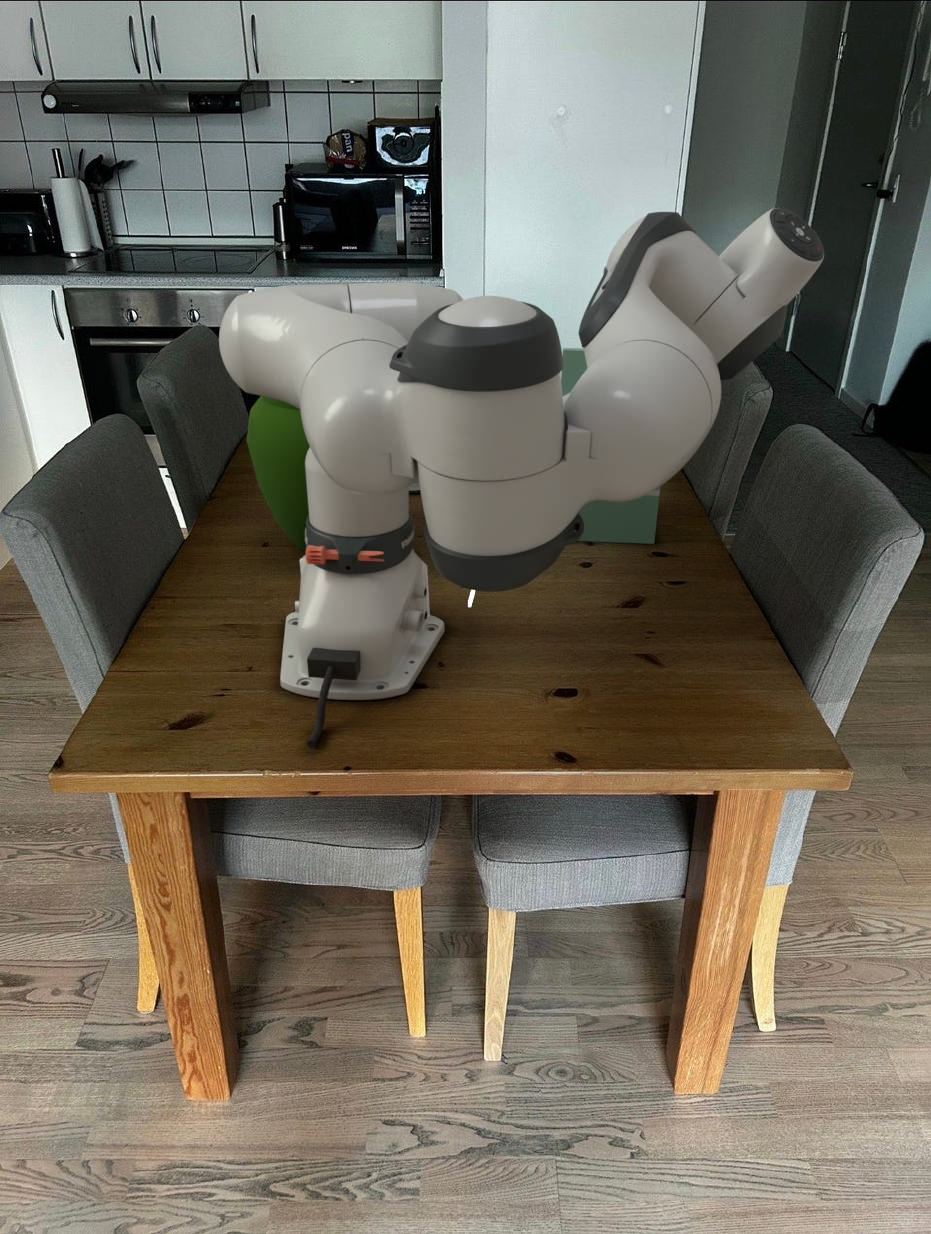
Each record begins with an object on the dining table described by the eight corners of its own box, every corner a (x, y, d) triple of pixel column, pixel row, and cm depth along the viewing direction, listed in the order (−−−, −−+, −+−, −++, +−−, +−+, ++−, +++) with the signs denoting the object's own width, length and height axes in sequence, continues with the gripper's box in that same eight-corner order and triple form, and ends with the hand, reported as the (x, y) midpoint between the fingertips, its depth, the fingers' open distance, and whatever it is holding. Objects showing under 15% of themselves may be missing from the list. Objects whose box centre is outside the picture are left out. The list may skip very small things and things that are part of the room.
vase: (376, 582, 123) (369, 396, 111) (235, 568, 127) (213, 386, 115) (413, 523, 140) (410, 357, 128) (288, 512, 143) (273, 349, 131)
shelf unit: (654, 544, 134) (673, 374, 123) (554, 540, 135) (564, 371, 124) (645, 508, 146) (662, 350, 134) (554, 505, 146) (563, 348, 135)
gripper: (646, 359, 103) (588, 423, 116) (785, 340, 112) (718, 401, 124) (625, 310, 105) (570, 378, 117) (764, 295, 113) (699, 360, 125)
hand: (647, 390), depth 121 cm, fingers closed on beer can, 6 cm apart
